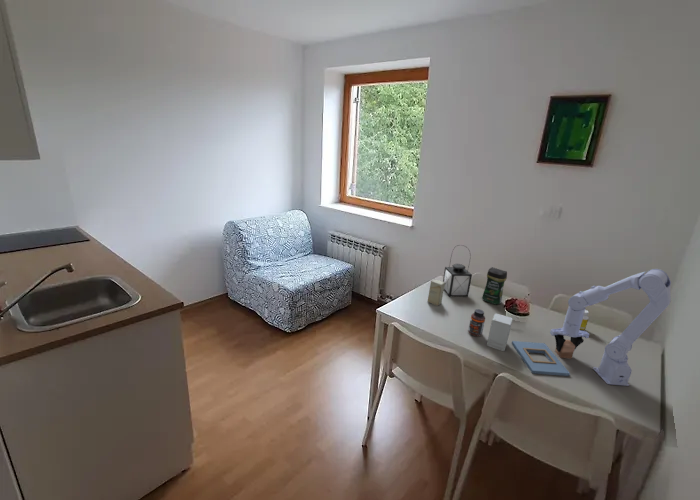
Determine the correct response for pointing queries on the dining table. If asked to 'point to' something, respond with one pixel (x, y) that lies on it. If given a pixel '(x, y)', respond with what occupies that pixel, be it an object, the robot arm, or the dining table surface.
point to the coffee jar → (494, 285)
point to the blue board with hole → (540, 366)
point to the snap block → (566, 350)
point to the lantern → (457, 280)
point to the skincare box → (436, 292)
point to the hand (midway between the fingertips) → (564, 350)
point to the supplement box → (499, 332)
